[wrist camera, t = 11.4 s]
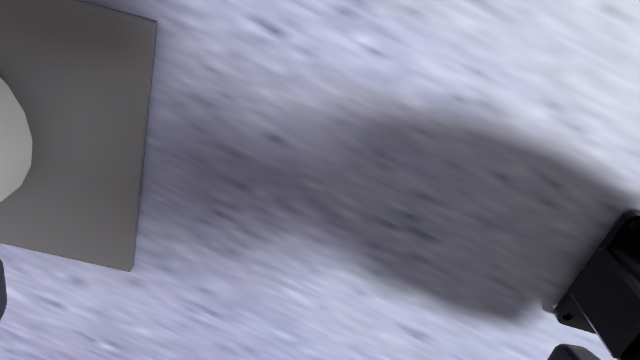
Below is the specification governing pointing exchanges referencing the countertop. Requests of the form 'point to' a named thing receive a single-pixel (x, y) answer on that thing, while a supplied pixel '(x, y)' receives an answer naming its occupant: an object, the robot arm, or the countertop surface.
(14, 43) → the seat pad
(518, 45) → the countertop surface
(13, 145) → the can
